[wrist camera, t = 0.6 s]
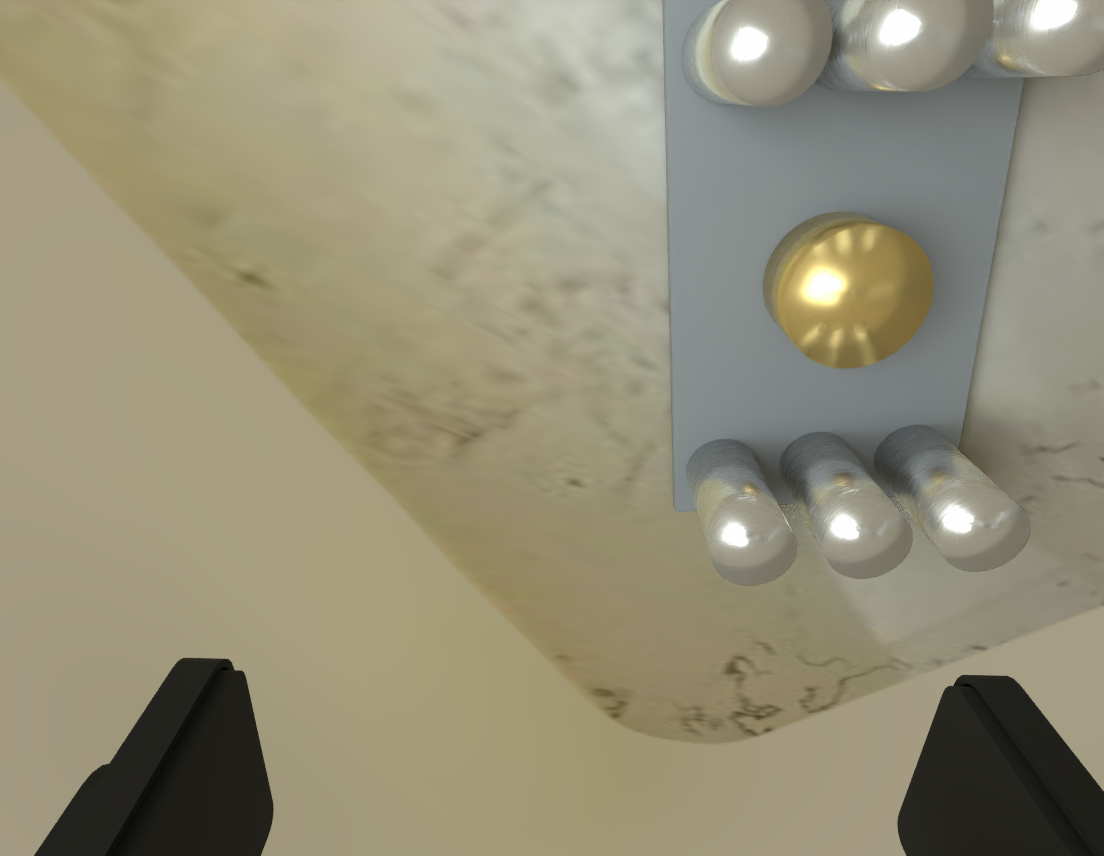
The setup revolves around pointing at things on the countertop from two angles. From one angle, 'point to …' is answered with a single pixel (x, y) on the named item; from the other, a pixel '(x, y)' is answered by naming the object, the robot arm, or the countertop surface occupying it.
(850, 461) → the steel spacers
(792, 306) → the gold rounded lump
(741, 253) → the plate
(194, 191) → the countertop surface
